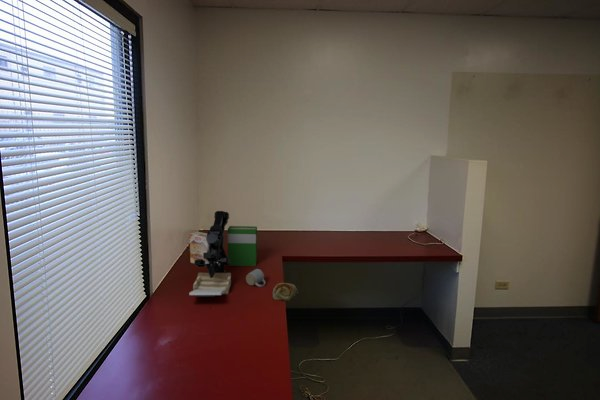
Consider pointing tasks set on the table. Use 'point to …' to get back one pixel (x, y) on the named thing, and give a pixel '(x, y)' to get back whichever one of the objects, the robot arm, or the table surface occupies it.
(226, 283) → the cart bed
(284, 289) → the pastry
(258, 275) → the ceramic mug
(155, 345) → the table surface
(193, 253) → the coffeecake box
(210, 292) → the panel
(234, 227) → the hardback book
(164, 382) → the table surface
